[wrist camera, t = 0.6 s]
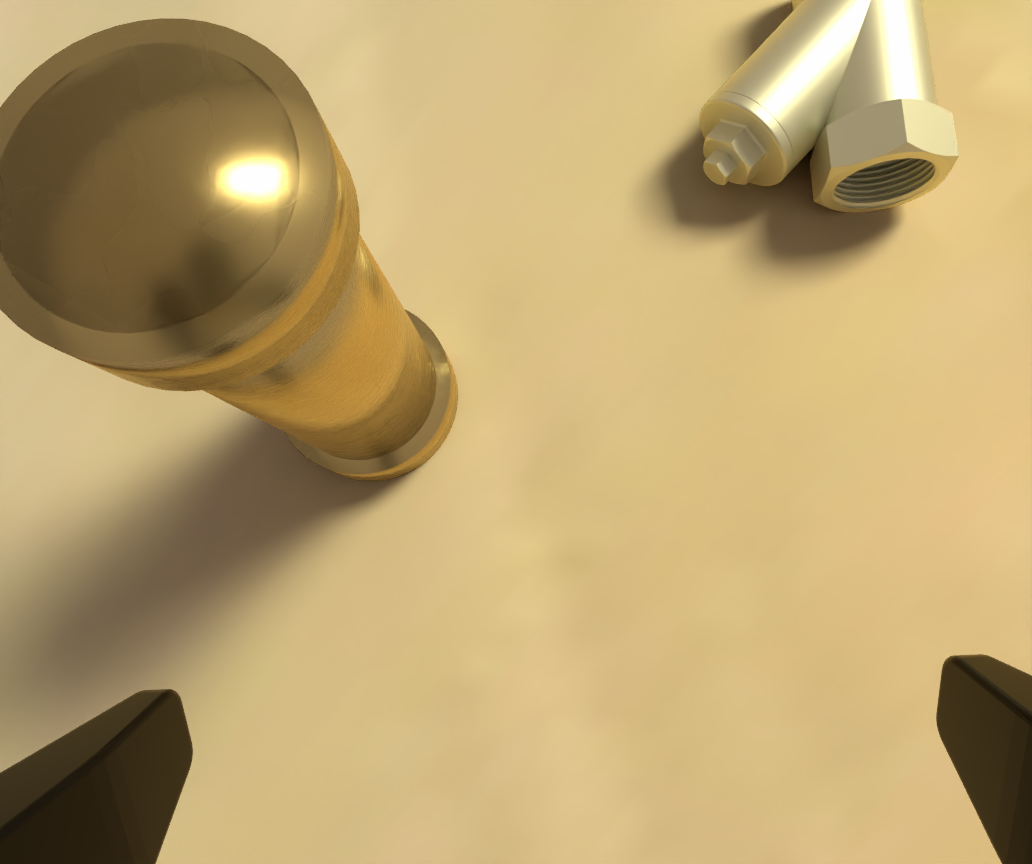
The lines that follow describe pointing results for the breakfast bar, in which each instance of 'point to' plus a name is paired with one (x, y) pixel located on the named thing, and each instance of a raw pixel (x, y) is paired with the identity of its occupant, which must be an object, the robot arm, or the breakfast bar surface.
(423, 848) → the breakfast bar surface
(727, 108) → the pipe fitting
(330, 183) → the knob
